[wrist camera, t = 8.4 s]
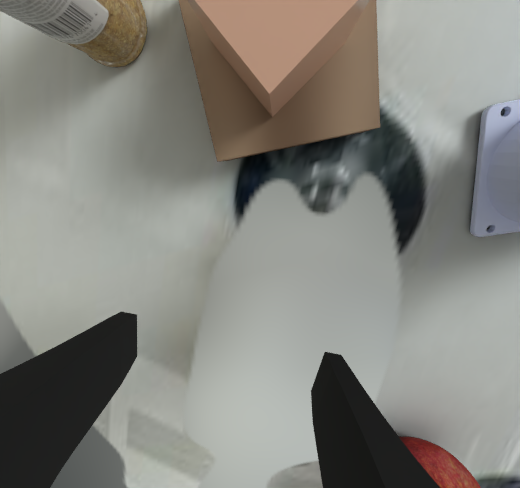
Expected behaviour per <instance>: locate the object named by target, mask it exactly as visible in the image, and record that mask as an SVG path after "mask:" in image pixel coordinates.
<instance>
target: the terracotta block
mask: <svg viewBox="0 0 520 488" xmlns="http://www.w3.org/2000/svg"><path fill="white" fill-rule="evenodd" d="M188 2H189V4H190V6H191V7H192V9H193V11H194V13H195V14H196V16H197V18H198V20H199V21H200V23H201V25H202V26H203V28H204V30H205V32H206V33H207V35H208V37H209V39H210V40H211V42H212V43H213V44H214V46H215V47H216V48H217V49H218V51H219V52H220V53H221V54H222V56H223V57H224V58H225V59H226V60H227V62H228V63H229V64H230V65H231V67H232V68H233V69H234V70H235V72H236V73H237V74H238V75H239V76H240V78H241V79H242V80H243V81H244V83H245V84H246V85H247V86H248V88H249V89H250V90H251V91H252V93H253V94H254V95H255V96H256V97H257V99H258V100H259V101H260V102H261V104H262V105H263V106H264V107H265V109H266V110H267V111H268V112H269V113H270V115H271V116H272V117H273V116H274V115H275V114H276V113H277V112H278V111H279V110H280V109H281V108H282V107H283V106H284V105H285V104H286V103H287V102H288V101H289V100H290V99H291V98H292V97H293V96H294V95H295V94H296V93H297V92H298V91H299V90H300V89H301V88H302V87H303V86H304V85H305V84H306V83H307V82H308V81H309V80H310V79H311V78H312V77H313V76H314V75H315V73H316V72H317V71H318V70H319V69H320V68H321V67H322V66H323V65H324V64H325V63H326V62H327V61H328V60H329V59H330V58H331V57H332V56H333V55H334V54H335V53H336V52H337V51H338V50H339V49H340V48H341V47H342V46H343V45H344V44H345V42H346V40H347V38H348V37H349V35H350V33H351V31H352V30H353V28H354V26H355V25H356V23H357V21H358V19H359V18H360V16H361V14H362V13H363V11H364V9H365V7H366V6H367V4H368V2H369V0H188Z"/></svg>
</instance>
